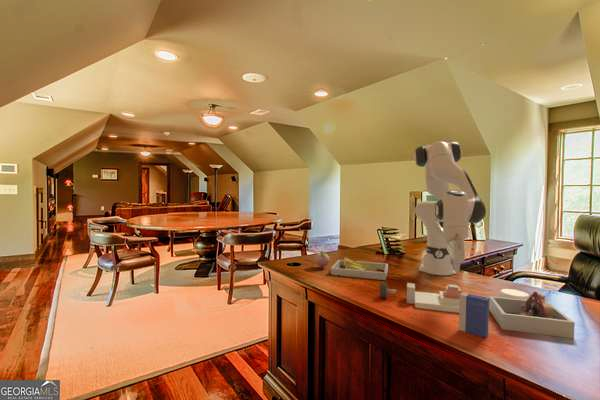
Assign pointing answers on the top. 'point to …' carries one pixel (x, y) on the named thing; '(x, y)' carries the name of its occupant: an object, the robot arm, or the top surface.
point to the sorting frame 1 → (359, 273)
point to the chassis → (431, 300)
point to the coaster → (514, 294)
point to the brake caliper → (537, 307)
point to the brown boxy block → (452, 291)
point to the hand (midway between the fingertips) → (454, 268)
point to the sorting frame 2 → (529, 319)
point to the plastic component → (357, 265)
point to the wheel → (385, 290)
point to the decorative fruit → (322, 259)
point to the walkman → (474, 314)
